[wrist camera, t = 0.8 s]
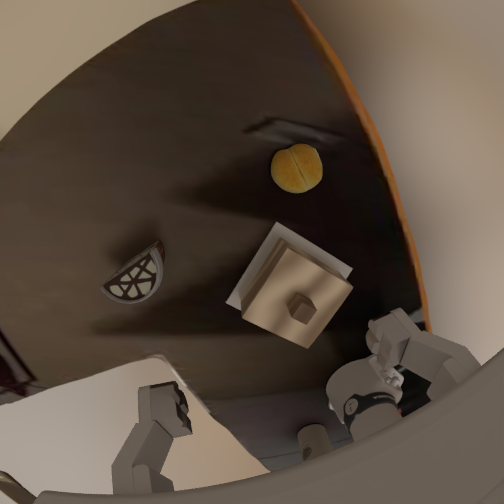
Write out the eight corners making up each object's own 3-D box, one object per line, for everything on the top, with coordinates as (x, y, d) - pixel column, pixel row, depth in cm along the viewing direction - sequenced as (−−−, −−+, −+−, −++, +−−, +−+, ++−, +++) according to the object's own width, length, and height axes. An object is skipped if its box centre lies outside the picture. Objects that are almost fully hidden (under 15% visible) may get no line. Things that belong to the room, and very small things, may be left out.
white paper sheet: (351, 268, 57) (352, 269, 57) (301, 338, 61) (302, 339, 61) (276, 221, 54) (276, 221, 53) (225, 301, 57) (225, 302, 57)
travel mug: (330, 428, 71) (348, 477, 54) (310, 443, 72) (324, 491, 55) (312, 419, 69) (328, 472, 52) (291, 435, 71) (302, 487, 53)
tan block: (339, 272, 57) (362, 296, 46) (299, 328, 60) (313, 361, 49) (280, 236, 54) (292, 255, 43) (240, 299, 57) (242, 330, 46)
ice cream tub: (135, 294, 56) (119, 318, 46) (117, 269, 54) (97, 289, 45) (184, 262, 55) (176, 283, 45) (166, 235, 53) (152, 250, 43)
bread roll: (263, 157, 51) (265, 156, 47) (309, 139, 50) (315, 137, 46) (281, 200, 53) (285, 203, 49) (326, 181, 53) (333, 183, 49)
